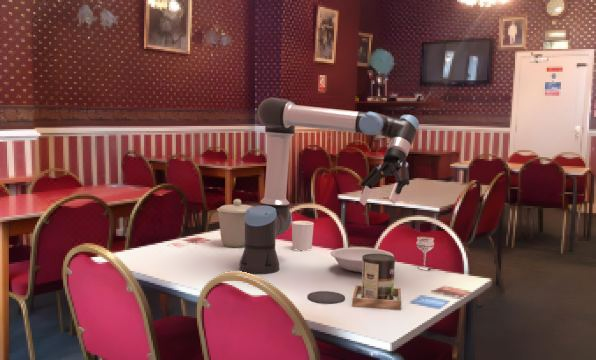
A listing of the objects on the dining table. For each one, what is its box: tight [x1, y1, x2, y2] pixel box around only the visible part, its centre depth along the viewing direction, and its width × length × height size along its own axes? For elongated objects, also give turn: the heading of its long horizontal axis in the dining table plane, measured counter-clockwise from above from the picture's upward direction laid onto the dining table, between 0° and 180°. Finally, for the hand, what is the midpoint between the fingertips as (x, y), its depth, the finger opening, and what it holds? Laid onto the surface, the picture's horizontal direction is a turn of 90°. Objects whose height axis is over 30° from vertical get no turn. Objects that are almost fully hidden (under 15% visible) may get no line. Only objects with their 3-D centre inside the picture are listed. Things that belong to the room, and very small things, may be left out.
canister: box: [216, 198, 254, 248], centre depth 260 cm, size 18×18×21 cm
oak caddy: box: [351, 285, 402, 311], centre depth 181 cm, size 15×15×2 cm
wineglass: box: [416, 236, 435, 268], centre depth 225 cm, size 7×7×12 cm
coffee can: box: [360, 254, 396, 300], centre depth 181 cm, size 10×10×14 cm
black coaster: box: [306, 290, 346, 305], centre depth 183 cm, size 12×12×1 cm
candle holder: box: [291, 220, 315, 250], centre depth 255 cm, size 10×10×12 cm
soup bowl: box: [330, 246, 395, 273], centre depth 219 cm, size 24×24×7 cm
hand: (376, 202), depth 196 cm, fingers open, 13 cm apart
